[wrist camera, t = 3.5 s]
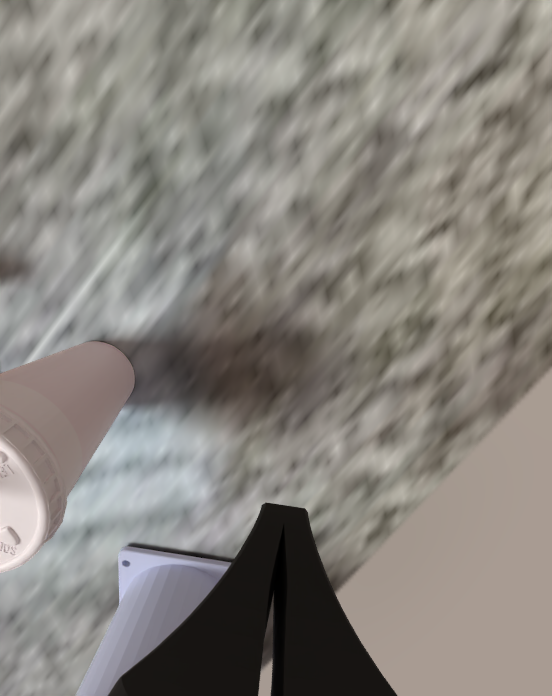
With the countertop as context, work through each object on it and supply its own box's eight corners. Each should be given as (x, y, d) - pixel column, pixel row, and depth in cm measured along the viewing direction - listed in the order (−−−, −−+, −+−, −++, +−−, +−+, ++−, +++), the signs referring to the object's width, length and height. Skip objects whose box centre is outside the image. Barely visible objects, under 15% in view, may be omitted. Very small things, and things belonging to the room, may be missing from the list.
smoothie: (151, 314, 21) (-139, 515, 7) (167, 429, 23) (-36, 746, 10) (28, 316, 21) (-443, 506, 8) (55, 428, 23) (-282, 725, 10)
